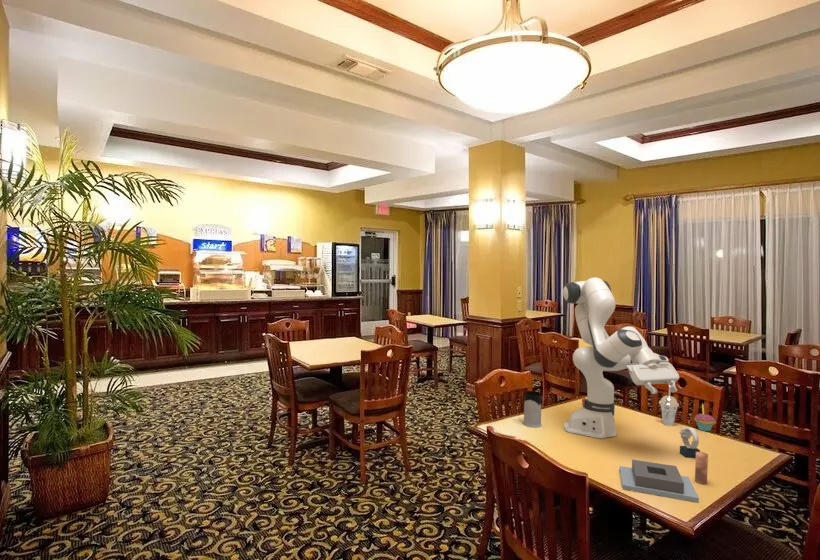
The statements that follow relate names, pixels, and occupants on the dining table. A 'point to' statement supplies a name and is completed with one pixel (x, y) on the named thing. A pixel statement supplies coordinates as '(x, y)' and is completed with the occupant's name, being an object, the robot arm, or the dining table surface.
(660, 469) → the tool stand
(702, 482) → the brown upright cylinder
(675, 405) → the cup with straw
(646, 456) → the dining table surface
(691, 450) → the watch
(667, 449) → the dining table surface
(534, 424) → the glass holder
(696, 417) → the cupcake
